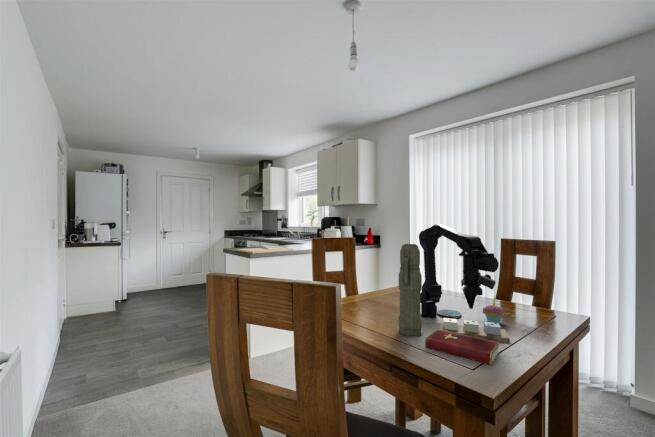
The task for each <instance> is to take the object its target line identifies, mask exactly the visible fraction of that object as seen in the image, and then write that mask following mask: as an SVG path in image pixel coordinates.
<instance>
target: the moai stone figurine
mask: <svg viewBox="0 0 655 437" xmlns="http://www.w3.org/2000/svg"><path fill="white" fill-rule="evenodd" d="M420 251H421V250H420V249H419V245H417V244H416V243H404V244H402V245H401V248H400V251H399V258H400V259H399V264H400V267H399V273H398V289H399V316H398V333H399V335H401V336H404V337H409V338H417V337H420V336H422V334H423V333H422V328H423V317H421V303H420V294H421V292H422V286H423V283H422V281H423V279H422V278H423V277H422V273H421V268H420V265H421V252H420Z"/></svg>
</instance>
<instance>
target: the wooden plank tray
mask: <svg viewBox="0 0 655 437" xmlns="http://www.w3.org/2000/svg"><path fill="white" fill-rule="evenodd" d="M437 329H440V330H444V331H449V332H453V333H458V334H462V335H467V336H471V337H476V338H481V339H485V340H490V341H494V342H499V343H500V342H501V343H510V340H511V339H510V337H509V334H508V333H507V332H506V329H503V328H502V329H501V335H494V334H486V333H485V330H484V326H483V327H482V326H480V327H479V333H475V332H466V331H464V327H463V324H457V330H448V329H444V322H437V324H436V330H437Z"/></svg>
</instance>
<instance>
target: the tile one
mask: <svg viewBox="0 0 655 437" xmlns="http://www.w3.org/2000/svg"><path fill="white" fill-rule="evenodd" d="M443 323H444V329H448V330H457V325H458V320H457V318H449V317H443Z"/></svg>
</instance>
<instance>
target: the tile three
mask: <svg viewBox="0 0 655 437" xmlns="http://www.w3.org/2000/svg"><path fill="white" fill-rule="evenodd" d="M483 327H484V330H485V333H486V334H494V335H501V328H502V327H501V325H500V323H492V322H488V321H484V322H483Z"/></svg>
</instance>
